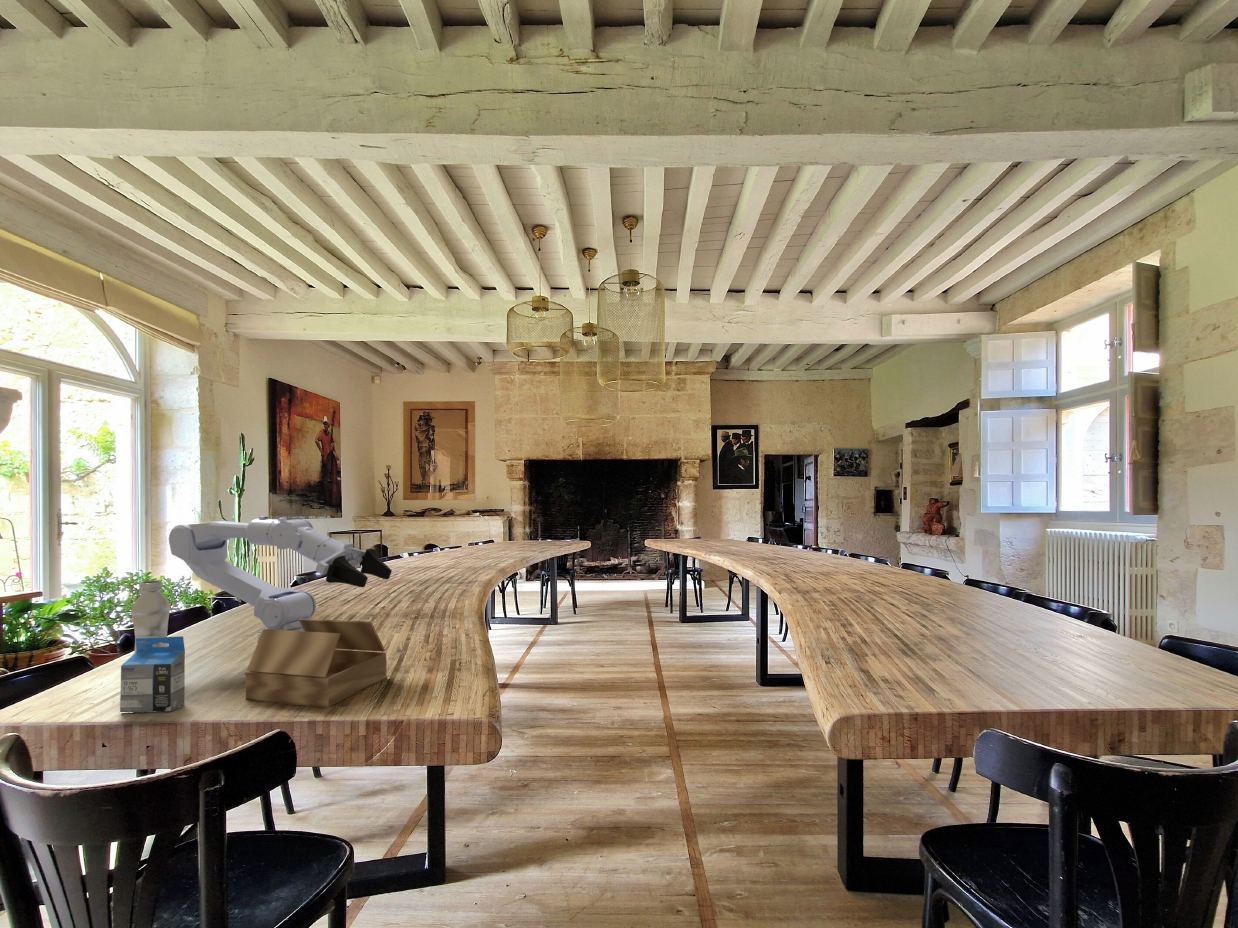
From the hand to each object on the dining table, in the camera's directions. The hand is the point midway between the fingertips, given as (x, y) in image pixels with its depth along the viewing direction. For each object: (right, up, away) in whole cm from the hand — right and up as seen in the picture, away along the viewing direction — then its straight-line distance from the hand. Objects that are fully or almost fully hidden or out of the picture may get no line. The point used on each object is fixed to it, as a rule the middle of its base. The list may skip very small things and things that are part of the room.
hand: (377, 578), depth 122 cm
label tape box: (-33, -20, -17) cm, 42 cm away
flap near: (-10, -11, -14) cm, 20 cm away
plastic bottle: (-46, -21, 0) cm, 51 cm away
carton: (-8, -19, -8) cm, 23 cm away
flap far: (-6, -11, -2) cm, 13 cm away
